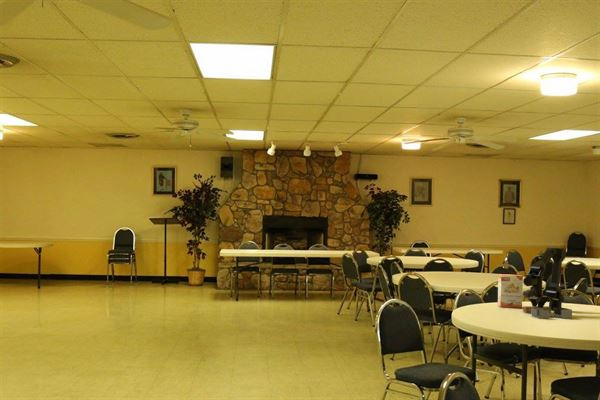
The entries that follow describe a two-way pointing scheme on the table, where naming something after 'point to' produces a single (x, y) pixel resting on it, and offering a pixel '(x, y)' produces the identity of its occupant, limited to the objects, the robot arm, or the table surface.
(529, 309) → the walnut rail
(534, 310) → the brackets
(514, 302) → the cracker box
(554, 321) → the table surface
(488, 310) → the table surface
